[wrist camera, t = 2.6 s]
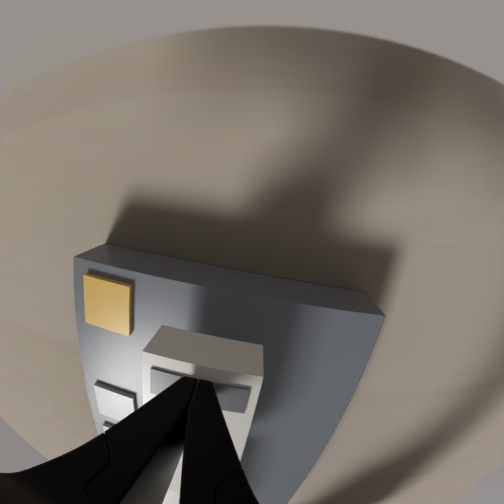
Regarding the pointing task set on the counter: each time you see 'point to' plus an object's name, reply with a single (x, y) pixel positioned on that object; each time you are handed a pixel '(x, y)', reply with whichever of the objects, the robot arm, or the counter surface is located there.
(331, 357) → the switch unit
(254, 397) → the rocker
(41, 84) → the counter surface
